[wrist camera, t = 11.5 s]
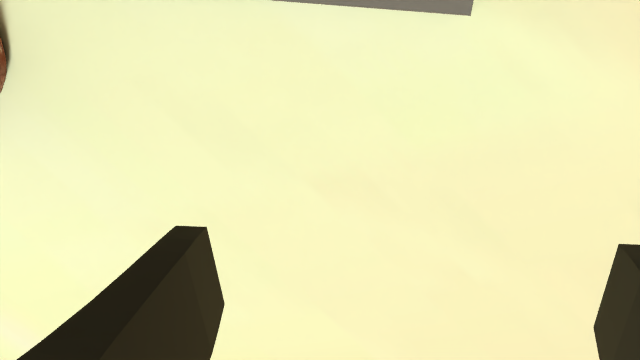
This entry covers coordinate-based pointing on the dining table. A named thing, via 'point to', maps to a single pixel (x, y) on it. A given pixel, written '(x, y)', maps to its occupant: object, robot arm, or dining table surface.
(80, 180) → the dining table surface
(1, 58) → the supplement bottle
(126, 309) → the robot arm
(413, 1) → the mat
